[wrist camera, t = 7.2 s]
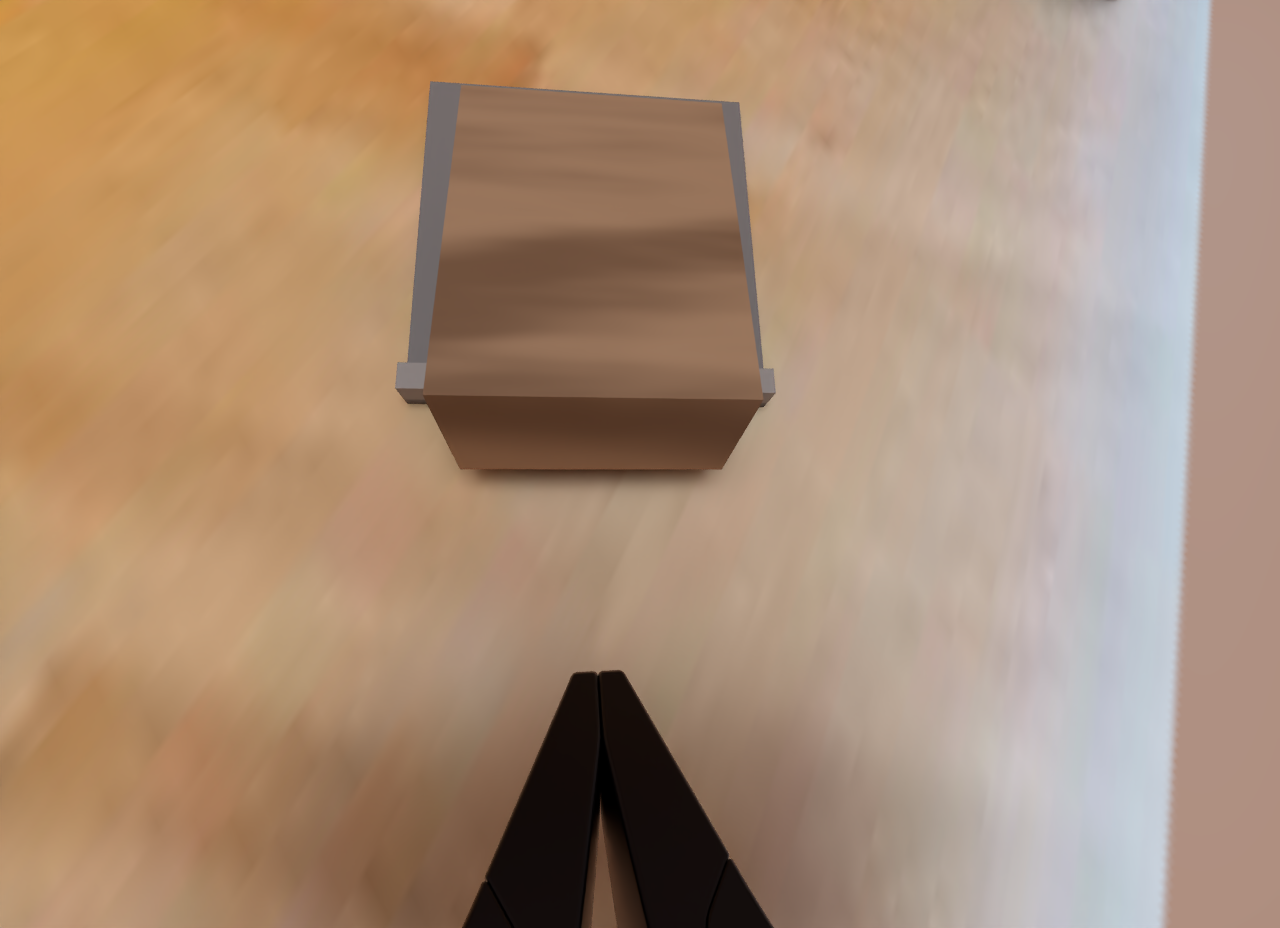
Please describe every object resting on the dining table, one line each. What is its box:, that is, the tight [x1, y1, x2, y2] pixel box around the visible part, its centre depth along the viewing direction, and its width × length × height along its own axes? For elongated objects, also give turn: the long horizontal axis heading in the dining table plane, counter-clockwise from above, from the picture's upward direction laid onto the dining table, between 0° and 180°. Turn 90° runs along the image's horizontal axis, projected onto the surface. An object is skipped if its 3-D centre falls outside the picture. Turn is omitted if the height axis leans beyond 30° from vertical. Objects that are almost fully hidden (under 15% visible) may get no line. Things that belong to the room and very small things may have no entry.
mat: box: [395, 81, 776, 407], centre depth 24 cm, size 15×14×2 cm
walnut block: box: [423, 85, 763, 469], centre depth 20 cm, size 5×9×12 cm
